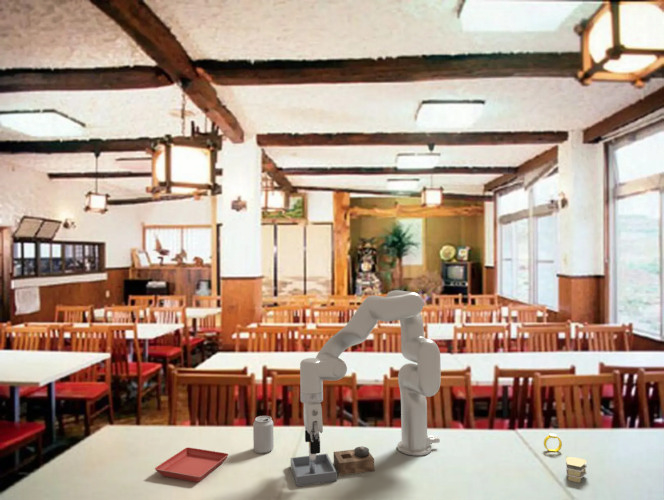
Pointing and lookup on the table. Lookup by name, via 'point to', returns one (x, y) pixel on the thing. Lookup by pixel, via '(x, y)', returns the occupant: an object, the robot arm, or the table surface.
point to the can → (263, 434)
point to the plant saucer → (191, 464)
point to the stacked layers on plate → (575, 468)
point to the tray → (323, 474)
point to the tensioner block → (353, 461)
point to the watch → (553, 437)
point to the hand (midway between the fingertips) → (312, 447)
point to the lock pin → (312, 462)
